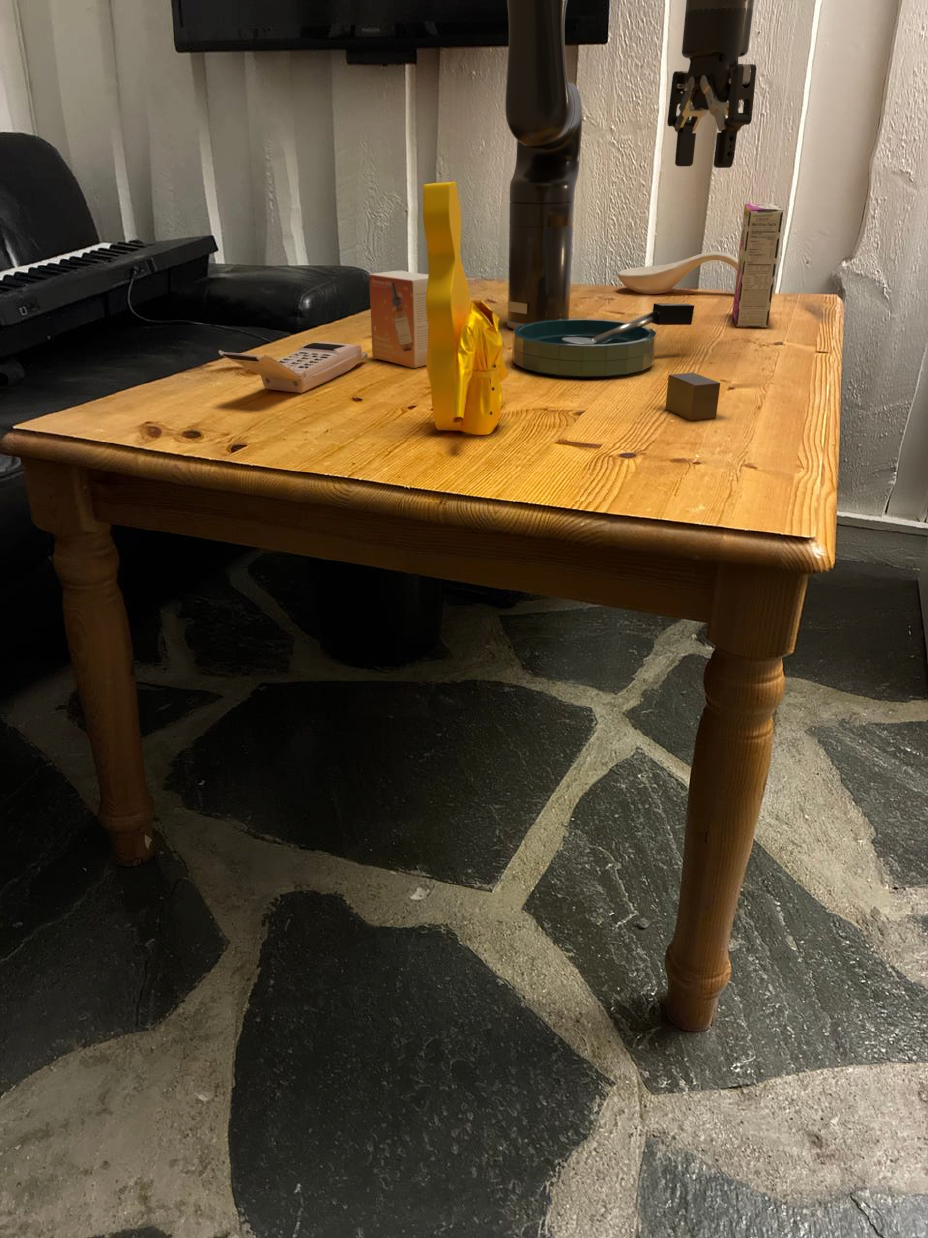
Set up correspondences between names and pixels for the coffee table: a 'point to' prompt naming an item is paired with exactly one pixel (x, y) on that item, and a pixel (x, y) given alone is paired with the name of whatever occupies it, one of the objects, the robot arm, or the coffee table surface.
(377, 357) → the small box
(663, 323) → the ladle
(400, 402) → the coffee table surface
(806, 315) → the coffee table surface
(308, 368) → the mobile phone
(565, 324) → the bowl
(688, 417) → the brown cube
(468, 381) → the figure statuette
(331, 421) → the coffee table surface
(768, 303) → the candy bar box
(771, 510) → the coffee table surface
